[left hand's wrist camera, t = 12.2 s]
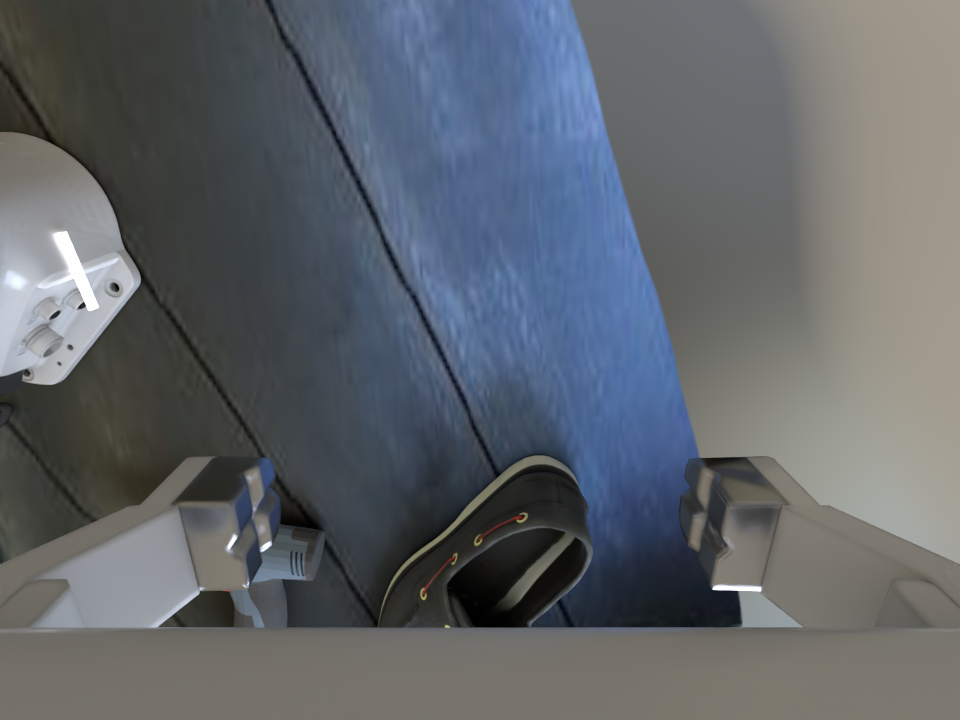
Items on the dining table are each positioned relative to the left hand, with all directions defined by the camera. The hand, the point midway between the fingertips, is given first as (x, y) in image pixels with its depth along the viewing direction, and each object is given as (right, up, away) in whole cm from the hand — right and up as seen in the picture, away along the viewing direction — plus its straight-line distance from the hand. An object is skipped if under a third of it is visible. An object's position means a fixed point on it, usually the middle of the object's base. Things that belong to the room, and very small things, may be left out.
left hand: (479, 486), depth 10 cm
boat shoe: (-1, -20, +48) cm, 52 cm away
